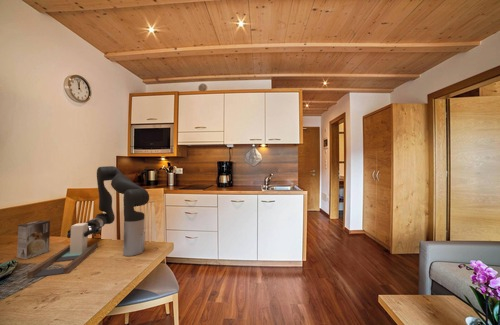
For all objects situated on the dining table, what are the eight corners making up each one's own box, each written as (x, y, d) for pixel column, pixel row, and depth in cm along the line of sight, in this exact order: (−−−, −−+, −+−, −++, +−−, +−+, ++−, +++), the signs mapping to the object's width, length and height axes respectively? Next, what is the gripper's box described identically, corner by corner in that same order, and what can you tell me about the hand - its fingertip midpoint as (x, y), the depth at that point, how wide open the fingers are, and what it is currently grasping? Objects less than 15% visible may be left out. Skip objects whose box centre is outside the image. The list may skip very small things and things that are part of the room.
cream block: (86, 249, 102) (87, 222, 103) (81, 253, 98) (82, 225, 98) (75, 250, 101) (76, 223, 101) (69, 254, 96) (70, 226, 97)
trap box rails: (98, 247, 106) (98, 242, 106) (68, 273, 80) (68, 267, 80) (68, 249, 102) (68, 245, 102) (27, 278, 76) (27, 271, 76)
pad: (94, 247, 105) (94, 246, 105) (85, 255, 96) (85, 254, 96) (72, 249, 102) (72, 248, 102) (61, 257, 93) (61, 256, 93)
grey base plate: (84, 255, 96) (84, 254, 96) (63, 273, 80) (63, 272, 80) (60, 258, 93) (60, 257, 93) (32, 277, 77) (32, 276, 77)
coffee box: (40, 250, 101) (41, 219, 102) (49, 251, 100) (50, 220, 100) (16, 258, 92) (17, 224, 93) (25, 259, 91) (27, 225, 91)
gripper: (78, 220, 111) (59, 229, 95) (107, 218, 115) (93, 227, 99) (77, 233, 111) (58, 244, 95) (107, 231, 115) (93, 241, 99)
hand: (76, 235), depth 97 cm, fingers open, 6 cm apart
